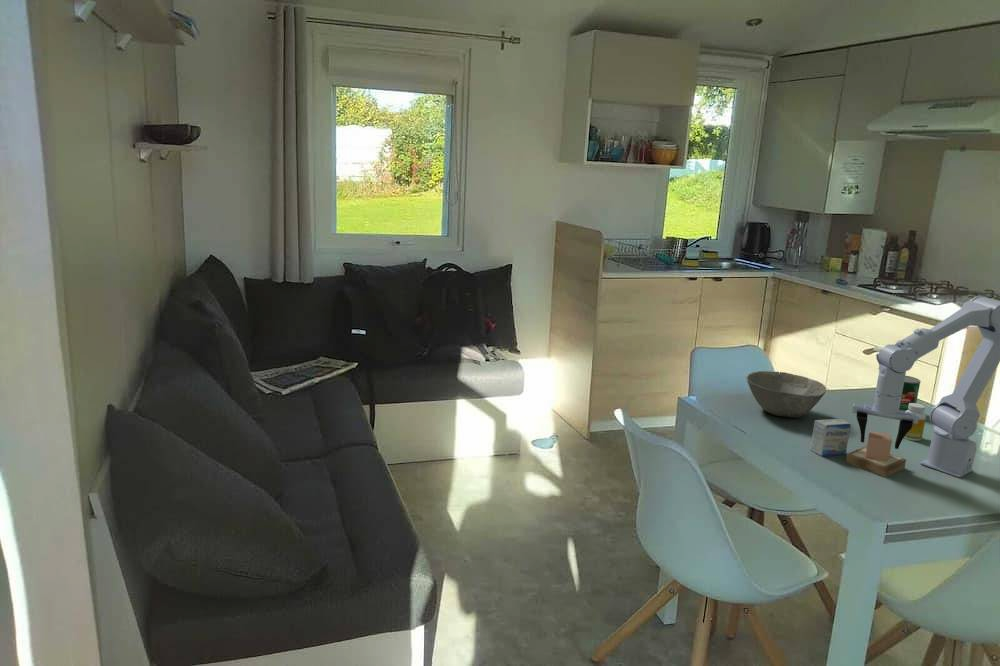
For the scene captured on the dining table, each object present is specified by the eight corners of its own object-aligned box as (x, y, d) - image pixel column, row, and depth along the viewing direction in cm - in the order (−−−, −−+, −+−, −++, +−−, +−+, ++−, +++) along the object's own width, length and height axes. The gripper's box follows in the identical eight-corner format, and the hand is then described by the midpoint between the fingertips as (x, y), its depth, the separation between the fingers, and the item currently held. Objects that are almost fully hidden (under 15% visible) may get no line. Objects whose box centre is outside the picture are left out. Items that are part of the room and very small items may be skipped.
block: (887, 454, 181) (891, 434, 180) (888, 461, 177) (892, 441, 175) (865, 450, 183) (869, 430, 182) (865, 457, 179) (869, 436, 177)
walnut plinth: (904, 468, 180) (906, 458, 179) (885, 477, 174) (887, 467, 173) (865, 454, 187) (866, 445, 187) (845, 462, 181) (847, 453, 181)
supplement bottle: (924, 442, 198) (931, 409, 195) (903, 440, 199) (910, 407, 196) (917, 435, 203) (924, 403, 200) (897, 433, 204) (903, 401, 201)
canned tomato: (907, 408, 225) (913, 375, 222) (918, 417, 218) (925, 383, 215) (881, 406, 226) (887, 373, 223) (891, 415, 218) (898, 381, 216)
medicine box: (820, 456, 184) (826, 425, 182) (809, 449, 189) (814, 419, 187) (846, 454, 187) (851, 423, 184) (834, 448, 191) (839, 417, 189)
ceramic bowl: (798, 433, 200) (803, 399, 198) (727, 408, 217) (731, 377, 215) (836, 417, 214) (841, 386, 212) (766, 396, 231) (771, 367, 229)
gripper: (921, 394, 176) (911, 444, 179) (856, 383, 182) (847, 433, 186) (923, 402, 170) (912, 454, 173) (856, 391, 176) (847, 442, 180)
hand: (879, 444), depth 179 cm, fingers open, 7 cm apart
